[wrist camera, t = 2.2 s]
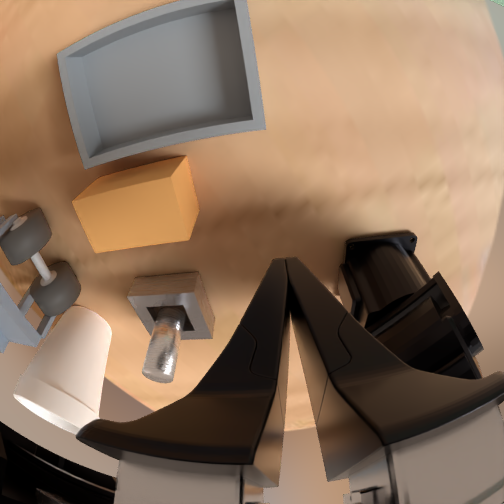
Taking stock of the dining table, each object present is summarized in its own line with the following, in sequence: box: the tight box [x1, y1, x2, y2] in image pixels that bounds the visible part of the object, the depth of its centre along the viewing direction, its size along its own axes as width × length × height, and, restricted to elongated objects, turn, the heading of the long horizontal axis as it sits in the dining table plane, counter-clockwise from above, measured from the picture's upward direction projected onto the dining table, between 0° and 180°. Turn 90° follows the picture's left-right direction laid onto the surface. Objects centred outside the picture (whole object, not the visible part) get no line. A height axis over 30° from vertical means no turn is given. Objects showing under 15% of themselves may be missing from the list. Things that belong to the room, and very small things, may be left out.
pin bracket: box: [127, 272, 215, 340], centre depth 23 cm, size 6×6×2 cm
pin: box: [142, 305, 186, 383], centre depth 21 cm, size 2×2×8 cm
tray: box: [57, 0, 266, 170], centre depth 12 cm, size 11×8×2 cm
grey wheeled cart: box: [0, 208, 81, 353], centre depth 17 cm, size 9×10×10 cm
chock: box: [72, 156, 200, 253], centre depth 16 cm, size 7×4×4 cm, turn 98°
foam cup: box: [13, 305, 112, 434], centre depth 22 cm, size 10×9×13 cm
